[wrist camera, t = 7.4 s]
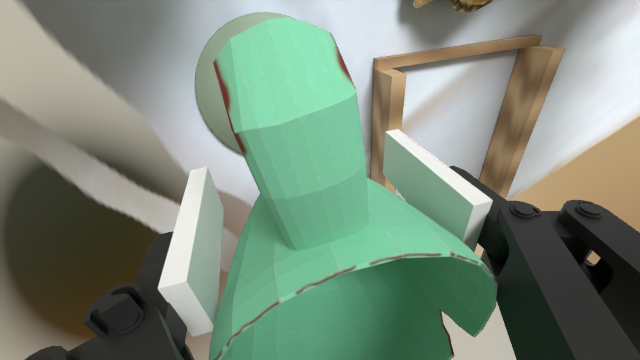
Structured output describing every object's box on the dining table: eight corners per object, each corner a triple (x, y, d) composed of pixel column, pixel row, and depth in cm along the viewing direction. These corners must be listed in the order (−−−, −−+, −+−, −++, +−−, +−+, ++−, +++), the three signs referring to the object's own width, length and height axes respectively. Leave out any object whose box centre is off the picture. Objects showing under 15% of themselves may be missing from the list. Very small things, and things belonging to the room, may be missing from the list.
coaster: (170, 21, 21) (169, 22, 21) (334, 4, 24) (336, 4, 23) (221, 167, 29) (221, 170, 29) (340, 143, 32) (342, 146, 31)
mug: (381, 217, 20) (478, 360, 12) (257, 261, 19) (270, 446, 11) (356, -18, 12) (631, -73, 3) (131, 44, 11) (-199, 163, 3)
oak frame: (374, 58, 27) (392, 65, 24) (534, 34, 31) (569, 37, 27) (369, 216, 40) (381, 235, 36) (483, 187, 43) (504, 202, 40)
